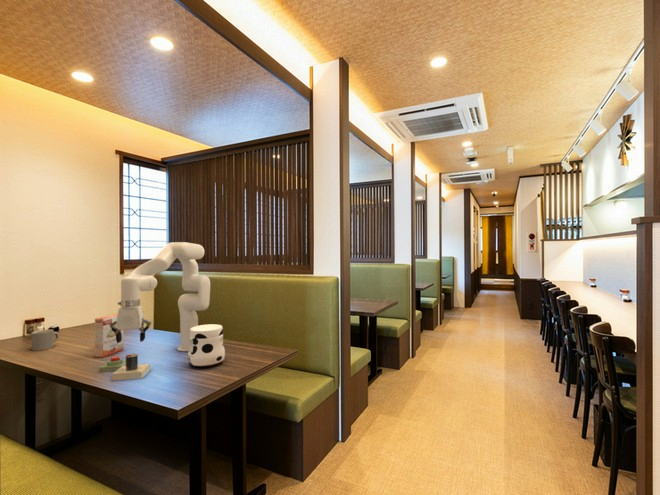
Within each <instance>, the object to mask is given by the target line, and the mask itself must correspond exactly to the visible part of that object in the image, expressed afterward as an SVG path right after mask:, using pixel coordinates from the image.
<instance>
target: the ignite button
mask: <svg viewBox="0 0 660 495" xmlns="http://www.w3.org/2000/svg"><path fill="white" fill-rule="evenodd" d="M119 358H120V356H119V355H114V356H111V357H110V359H111V362H113V361H118V360H119Z"/></svg>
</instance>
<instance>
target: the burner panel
mask: <svg viewBox="0 0 660 495" xmlns="http://www.w3.org/2000/svg"><path fill="white" fill-rule="evenodd" d="M150 371H151V364H150V363H148V364H138V368H137V369H135V370H129V371H128V370H126V366H122V367H121V368H119V369H118V370H117V371H113V373H111V375H112V381H125V380H137V379H138V380H139V379H143V378H144V377H145V376H146V375H147V374H148V373H149V372H150Z"/></svg>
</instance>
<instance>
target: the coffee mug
mask: <svg viewBox="0 0 660 495" xmlns="http://www.w3.org/2000/svg"><path fill="white" fill-rule="evenodd" d="M59 338H60V333H59V332H57V331H54V329H41V330H34V331H32V332H31V351H33V352H39V351H40V352H41V351H46V350H50V349H53V348H54V346H55V342H57V341H58V340H59Z"/></svg>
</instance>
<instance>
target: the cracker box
mask: <svg viewBox="0 0 660 495" xmlns="http://www.w3.org/2000/svg"><path fill="white" fill-rule="evenodd" d="M117 315H118V313H114V314H109V315H105V316H100V317H96V318H94V357H95V358H105V357H108V356H111V355H113V354H116V353H119V352H122V351H124V330H121V332H120V333H122V341H121V342H119V343H117V341H116V334H115V333H114V332H113V331H112V329H111V327H110V326H109V325H110V324H111V323H113V322H115V321H117ZM116 325H117V324H115V325H114V326H115V327H116ZM116 328H117V327H116Z"/></svg>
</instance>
